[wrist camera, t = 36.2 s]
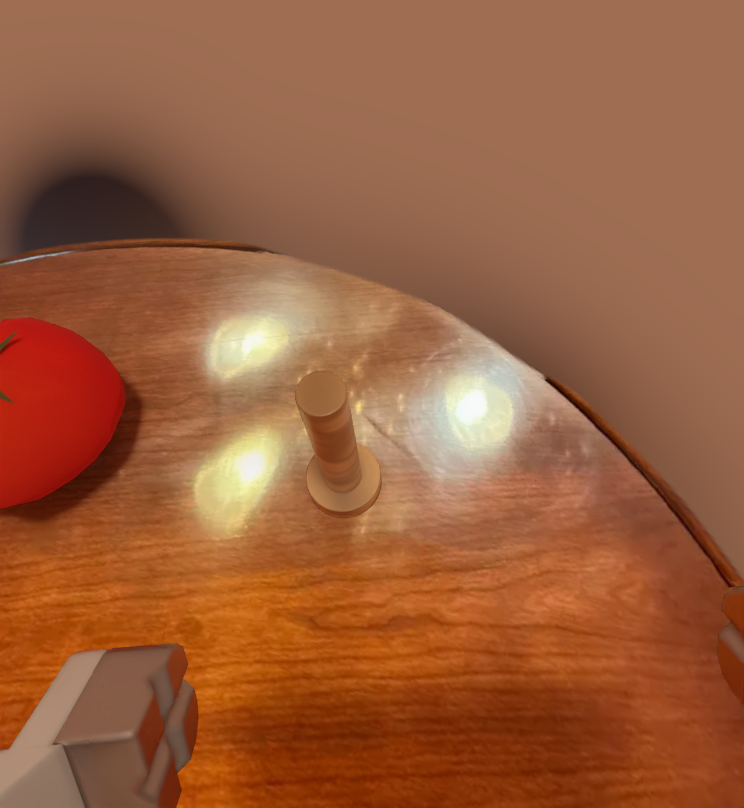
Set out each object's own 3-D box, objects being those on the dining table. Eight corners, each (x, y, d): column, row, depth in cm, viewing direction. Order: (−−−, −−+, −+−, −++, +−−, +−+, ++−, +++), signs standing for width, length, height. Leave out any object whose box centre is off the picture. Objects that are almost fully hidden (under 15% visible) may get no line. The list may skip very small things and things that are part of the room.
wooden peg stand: (357, 436, 42) (339, 331, 29) (395, 493, 40) (393, 406, 27) (296, 472, 41) (250, 379, 28) (332, 532, 39) (299, 461, 26)
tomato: (80, 341, 47) (-1, 254, 37) (178, 424, 43) (115, 351, 33) (-60, 458, 42) (-191, 394, 33) (35, 561, 39) (-83, 523, 29)
